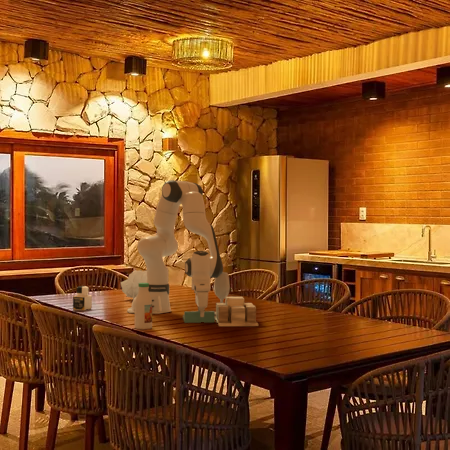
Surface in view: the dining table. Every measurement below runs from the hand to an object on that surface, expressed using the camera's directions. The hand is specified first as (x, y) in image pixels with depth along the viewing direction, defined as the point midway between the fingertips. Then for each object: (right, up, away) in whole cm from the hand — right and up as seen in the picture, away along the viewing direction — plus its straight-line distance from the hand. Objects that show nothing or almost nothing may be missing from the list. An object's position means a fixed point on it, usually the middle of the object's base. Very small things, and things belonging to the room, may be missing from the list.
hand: (201, 315), depth 315 cm
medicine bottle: (-64, -2, +37) cm, 74 cm away
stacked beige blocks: (+16, -3, 0) cm, 17 cm away
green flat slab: (-1, -3, +6) cm, 7 cm away
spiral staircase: (-35, -2, +73) cm, 81 cm away
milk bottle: (-25, -4, -18) cm, 31 cm away
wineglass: (+9, -3, +24) cm, 26 cm away
